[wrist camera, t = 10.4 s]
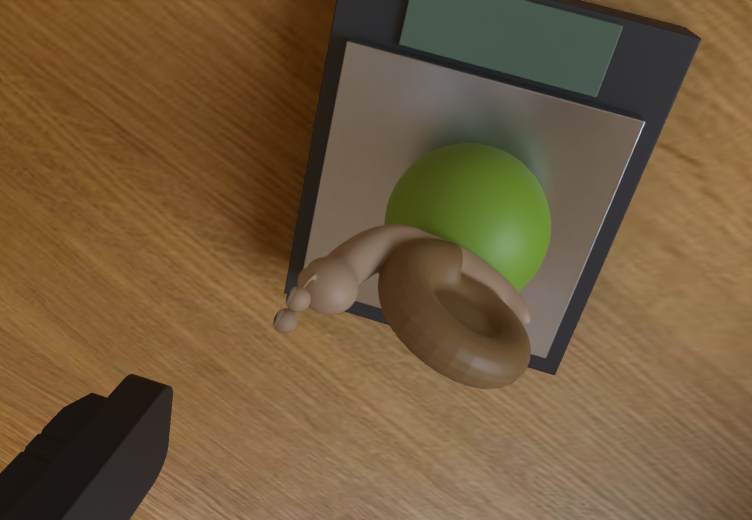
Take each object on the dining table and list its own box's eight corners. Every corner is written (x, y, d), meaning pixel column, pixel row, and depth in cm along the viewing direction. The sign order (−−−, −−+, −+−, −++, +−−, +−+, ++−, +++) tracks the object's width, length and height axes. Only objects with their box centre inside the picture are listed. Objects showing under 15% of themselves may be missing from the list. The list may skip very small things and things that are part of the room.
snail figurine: (424, 79, 23) (333, 208, 13) (581, 176, 24) (617, 378, 13) (352, 202, 26) (227, 394, 16) (495, 288, 26) (468, 532, 16)
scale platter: (351, 37, 24) (346, 40, 23) (642, 115, 23) (646, 121, 23) (305, 275, 29) (299, 284, 28) (545, 348, 28) (546, 359, 27)
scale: (362, -56, 25) (344, -54, 23) (686, 27, 24) (703, 39, 22) (301, 267, 32) (281, 296, 29) (553, 343, 31) (555, 379, 28)
